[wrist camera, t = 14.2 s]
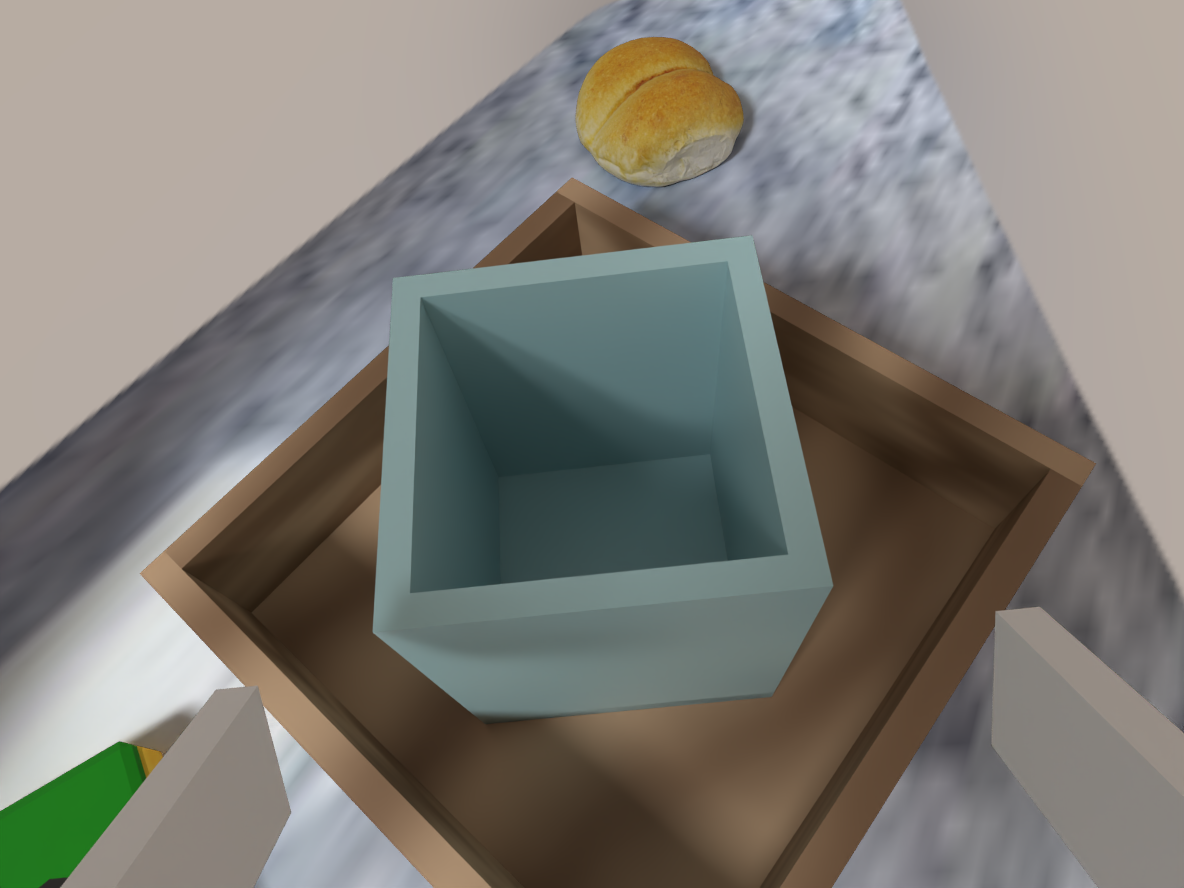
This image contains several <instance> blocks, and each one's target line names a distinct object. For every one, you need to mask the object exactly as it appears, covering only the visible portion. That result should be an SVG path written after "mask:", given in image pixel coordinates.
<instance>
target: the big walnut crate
mask: <svg viewBox="0 0 1184 888" xmlns="http://www.w3.org/2000/svg"><path fill="white" fill-rule="evenodd" d="M684 243H691V242H689V241H688V240H686V239H684V238H682V237H680V236H678V235H677V234H675V233H673V232H671V231H669V230H667V229H666V228H664V227H662V226H660V225H658V224H656V223H655V222H653V221H651V220H649V219H647V218H645V217H644V216H642V215H640V214H638V213H636V212H634V211H633V210H631V209H629V208H627V207H625V206H623V205H622V204H620V203H618V202H616V201H614V200H612V199H611V198H609V197H607V196H605V195H603V194H601V193H600V192H598V191H596V190H594V189H592V188H590V187H589V186H587V185H585V184H583V183H581V182H579V181H578V180H576V179H574V178H571V179H570V180H569V181H568V182H567V183H565V184H564V185H563V186H562V187H561V188H560V189H559V190H558V191H557V192H556V193H555V194H553V195H552V196H551V197H550V198H549V199H548V200H547V201H546V202H545V203H544V204H543V205H541V206H540V207H539V208H538V209H537V210H536V211H535V212H534V213H533V214H532V215H531V216H529V217H528V218H527V219H526V220H525V221H524V222H523V223H522V224H521V225H520V226H519V227H517V228H516V229H515V230H514V231H513V232H512V233H511V234H510V235H509V236H508V237H507V238H505V239H504V240H503V241H502V242H501V243H500V244H499V245H498V246H497V247H496V248H495V249H493V250H492V251H491V252H490V253H489V254H488V255H487V256H486V257H485V258H484V259H483V260H481V261H480V262H479V263H478V264H477V265H476V266H475V267H474V268H482V267H491V266H499V265H507V264H516V263H524V262H533V261H541V260H549V259H558V258H566V257H575V256H583V255H592V254H600V253H608V252H617V251H625V250H634V249H642V248H650V247H659V246H667V245H676V244H684ZM474 268H473V269H474ZM763 283H764V282H763ZM764 288H765V292H766V296H767V301H768V305H769V309H770V314H771V318H772V322H773V327H774V331H775V335H776V340H777V344H778V348H779V353H780V357H781V361H782V366H783V370H784V374H785V379H786V383H787V387H788V392H789V396H790V400H791V405H792V409H793V413H794V418H795V422H796V426H797V431H798V435H799V439H800V444H801V448H802V452H803V457H804V461H805V465H806V470H807V474H808V478H809V483H810V487H811V491H812V496H813V500H814V504H815V508H816V513H817V517H818V521H819V526H820V530H821V534H822V539H823V543H824V547H825V552H826V556H827V560H828V565H829V569H830V573H831V578H832V582H833V588H832V589H831V591H830V593H829V595H828V597H827V598H826V600H825V602H824V604H823V606H822V607H821V609H820V611H819V613H818V615H817V616H816V618H815V620H814V622H813V624H812V625H811V627H810V629H809V631H808V632H807V634H806V636H805V638H804V640H803V641H802V643H801V645H800V647H799V649H798V650H797V652H796V654H795V656H794V658H793V659H792V661H791V663H790V665H789V667H788V668H787V670H786V672H785V674H784V676H783V677H782V679H781V681H780V683H779V685H778V686H777V688H776V690H775V692H774V693H773V695H772V697H765V698H755V699H745V700H734V701H724V702H713V703H703V704H692V705H682V706H671V707H661V708H650V709H640V710H629V711H619V712H608V713H598V714H587V715H577V716H567V717H556V718H546V719H535V720H525V721H514V722H504V723H493V724H484V723H483V722H482V721H481V720H479V719H478V718H477V717H476V716H474V715H473V714H472V713H471V712H470V711H468V710H467V709H466V708H465V707H463V706H462V705H461V704H460V703H459V702H457V701H456V700H455V699H454V698H452V697H451V696H450V695H449V694H448V693H446V692H445V691H444V690H443V689H441V688H440V687H439V686H438V685H436V684H435V683H434V682H433V681H432V680H430V679H429V678H428V677H427V676H425V675H424V674H423V673H422V672H421V671H419V670H418V669H417V668H416V667H414V666H413V665H412V664H411V663H410V662H408V661H407V660H406V659H405V658H403V657H402V656H401V655H400V654H398V653H397V652H396V651H395V650H394V649H392V648H391V647H390V646H389V645H387V644H386V643H385V642H384V641H383V640H381V639H380V638H379V637H378V636H376V635H375V634H374V633H373V617H374V600H375V582H376V565H377V548H378V530H379V513H380V495H381V478H382V460H383V443H384V425H385V408H386V390H387V373H388V355H389V346H388V347H386V348H385V349H384V350H383V351H382V352H381V353H380V354H379V355H378V356H377V357H376V358H374V359H373V360H372V361H371V362H370V363H369V364H368V365H367V366H366V367H365V368H364V369H362V370H361V371H360V372H359V373H358V374H357V375H356V376H355V377H354V378H353V379H352V380H350V381H349V382H348V383H347V384H346V385H345V386H344V387H343V388H342V389H341V390H340V391H338V392H337V393H336V394H335V395H334V396H333V397H332V398H331V399H330V400H329V401H327V402H326V403H325V404H324V405H323V406H322V407H321V408H320V409H319V410H318V411H317V412H315V413H314V414H313V415H312V416H311V417H310V418H309V419H308V420H307V421H306V422H305V423H303V424H302V425H301V426H300V427H299V428H298V429H297V430H296V431H295V432H294V433H293V434H291V435H290V436H289V437H288V438H287V439H286V440H285V441H284V442H283V443H282V444H281V445H279V446H278V447H277V448H276V449H275V450H274V451H273V452H272V453H271V454H270V455H269V456H267V457H266V458H265V459H264V460H263V461H262V462H261V463H260V464H259V465H258V466H257V467H255V468H254V469H253V470H252V471H251V472H250V473H249V474H248V475H247V476H246V477H245V478H243V479H242V480H241V481H240V482H239V483H238V484H237V485H236V486H235V487H234V488H233V489H231V490H230V491H229V492H228V493H227V494H226V495H225V496H224V497H223V498H222V499H221V500H219V501H218V502H217V503H216V504H215V505H214V506H213V507H212V508H211V509H210V510H209V511H207V512H206V513H205V514H204V515H203V516H202V517H201V518H200V519H199V520H198V521H197V522H195V523H194V524H193V525H192V526H191V527H190V528H189V529H188V530H187V531H186V532H184V533H183V534H182V535H181V536H180V537H179V538H178V539H177V540H176V541H175V542H174V543H172V544H171V545H170V546H169V547H168V548H167V549H166V550H165V551H164V552H163V553H162V554H160V555H159V556H158V557H157V558H156V559H155V560H154V561H153V562H152V563H151V564H150V565H148V566H147V567H146V568H145V569H144V570H143V571H142V572H141V573H140V574H141V575H142V577H143V578H144V579H145V580H146V581H147V582H148V583H149V584H150V585H151V586H152V587H153V588H154V589H155V590H156V592H157V593H158V594H159V595H160V596H161V597H162V598H163V599H164V600H165V601H166V602H167V603H168V604H169V605H170V606H171V608H172V609H173V610H174V611H175V612H176V613H177V614H178V615H179V616H180V617H181V618H182V619H183V620H184V621H185V622H186V624H187V625H188V626H189V627H190V628H191V629H192V630H193V631H194V632H195V633H196V634H197V635H198V636H199V637H200V639H201V640H202V641H203V642H204V643H205V644H206V645H207V646H208V647H209V648H210V649H211V650H212V651H213V652H214V653H215V655H216V656H217V657H218V658H219V659H220V660H221V661H222V662H223V663H224V664H225V665H226V666H227V667H228V668H229V669H230V671H231V672H232V673H233V674H234V675H235V676H236V677H237V678H238V679H239V680H240V681H241V682H242V683H243V684H244V685H245V687H249V686H258V688H259V692H260V696H261V699H262V703H263V706H264V707H265V708H266V709H267V710H268V711H269V712H270V713H271V714H272V715H273V716H274V718H275V719H276V720H277V721H278V722H279V723H280V724H281V725H282V726H283V727H284V728H285V729H286V730H287V731H288V732H289V734H290V735H291V736H292V737H293V738H294V739H295V740H296V741H297V742H298V743H299V744H300V745H301V746H302V747H303V749H304V750H305V751H306V752H307V753H308V754H309V755H310V756H311V757H312V758H313V759H314V760H315V761H316V762H317V763H318V765H319V766H320V767H321V768H322V769H323V770H324V771H325V772H326V773H327V774H328V775H329V776H330V777H331V778H332V779H333V781H334V782H335V783H336V784H337V785H338V786H339V787H340V788H341V789H342V790H343V791H344V792H345V793H346V794H347V796H348V797H349V798H350V799H351V800H352V801H353V802H354V803H355V804H356V805H357V806H358V807H359V808H360V809H361V810H362V812H363V813H364V814H365V815H366V816H367V817H368V818H369V819H370V820H371V821H372V822H373V823H374V824H375V825H376V826H377V828H378V829H379V830H380V831H381V832H382V833H383V834H384V835H385V836H386V837H387V838H388V839H389V840H390V841H391V842H392V844H393V845H394V846H395V847H396V848H397V849H398V850H399V851H400V852H401V853H402V854H403V855H404V856H405V857H406V859H407V860H408V861H409V862H410V863H411V864H412V865H413V866H414V867H415V868H416V869H417V870H418V871H419V872H420V873H421V875H422V876H423V877H424V878H425V879H426V880H427V881H428V882H429V883H430V884H431V885H432V886H433V887H434V888H832V886H833V885H834V883H835V882H836V880H837V878H838V877H839V875H840V874H841V872H842V870H843V869H844V867H845V866H846V864H847V862H848V861H849V859H850V858H851V856H852V854H853V853H854V851H855V850H856V848H857V846H858V845H859V843H860V842H861V840H862V838H863V837H864V835H865V833H866V832H867V830H868V829H869V827H870V825H871V824H872V822H873V821H874V819H875V817H876V816H877V814H878V813H879V811H880V809H881V808H882V806H883V805H884V803H885V801H886V800H887V798H888V797H889V795H890V793H891V792H892V790H893V789H894V787H895V785H896V784H897V782H898V781H899V779H900V777H901V776H902V774H903V773H904V771H905V769H906V768H907V766H908V765H909V763H910V761H911V760H912V758H913V757H914V755H915V753H916V752H917V750H918V749H919V747H920V745H921V744H922V742H923V740H924V739H925V737H926V736H927V734H928V732H929V731H930V729H931V728H932V726H933V724H934V723H935V721H936V720H937V718H938V716H939V715H940V713H941V712H942V710H943V708H944V707H945V705H946V704H947V702H948V700H949V699H950V697H951V696H952V694H953V692H954V691H955V689H956V688H957V686H958V684H959V683H960V681H961V680H962V678H963V676H964V675H965V673H966V672H967V670H968V668H969V667H970V665H971V664H972V662H973V660H974V659H975V657H976V656H977V654H978V652H979V651H980V649H981V647H982V646H983V644H984V643H985V641H986V639H987V638H988V636H989V635H990V633H991V631H992V630H993V628H994V627H995V611H1002V610H1005V609H1006V607H1007V606H1008V604H1009V603H1010V601H1011V599H1012V598H1013V596H1014V595H1015V593H1016V591H1017V590H1018V588H1019V587H1020V585H1021V583H1022V582H1023V580H1024V579H1025V577H1026V575H1027V574H1028V572H1029V571H1030V569H1031V567H1032V566H1033V564H1034V563H1035V561H1036V559H1037V558H1038V556H1039V554H1040V553H1041V551H1042V550H1043V548H1044V546H1045V545H1046V543H1047V542H1048V540H1049V538H1050V537H1051V535H1052V534H1053V532H1054V530H1055V529H1056V527H1057V526H1058V524H1059V522H1060V521H1061V519H1062V518H1063V516H1064V514H1065V513H1066V511H1067V510H1068V508H1069V506H1070V505H1071V503H1072V502H1073V500H1074V498H1075V497H1076V495H1077V494H1078V492H1079V490H1080V489H1081V487H1082V486H1083V484H1084V482H1085V481H1086V479H1087V478H1088V476H1089V474H1090V473H1091V471H1092V470H1093V468H1094V466H1095V465H1096V463H1094V462H1092V461H1091V460H1089V459H1087V458H1085V457H1083V456H1081V455H1080V454H1078V453H1076V452H1074V451H1072V450H1070V449H1069V448H1067V447H1065V446H1063V445H1061V444H1059V443H1058V442H1056V441H1054V440H1052V439H1050V438H1048V437H1047V436H1045V435H1043V434H1041V433H1039V432H1037V431H1036V430H1034V429H1032V428H1030V427H1028V426H1026V425H1025V424H1023V423H1021V422H1019V421H1017V420H1015V419H1014V418H1012V417H1010V416H1008V415H1006V414H1004V413H1003V412H1001V411H999V410H997V409H995V408H993V407H992V406H990V405H988V404H986V403H984V402H982V401H981V400H979V399H977V398H975V397H973V396H971V395H970V394H968V393H966V392H964V391H962V390H960V389H959V388H957V387H955V386H953V385H951V384H949V383H948V382H946V381H944V380H942V379H940V378H939V377H937V376H935V375H933V374H931V373H929V372H928V371H926V370H924V369H922V368H920V367H918V366H917V365H915V364H913V363H911V362H909V361H907V360H906V359H904V358H902V357H900V356H898V355H896V354H895V353H893V352H891V351H889V350H887V349H885V348H884V347H882V346H880V345H878V344H876V343H874V342H873V341H871V340H869V339H867V338H865V337H863V336H862V335H860V334H858V333H856V332H854V331H852V330H851V329H849V328H847V327H845V326H843V325H841V324H840V323H838V322H836V321H834V320H832V319H830V318H829V317H827V316H825V315H823V314H821V313H819V312H818V311H816V310H814V309H812V308H810V307H808V306H807V305H805V304H803V303H801V302H799V301H797V300H796V299H794V298H792V297H790V296H788V295H786V294H785V293H783V292H781V291H779V290H777V289H775V288H774V287H772V286H770V285H768V284H766V283H764Z"/></svg>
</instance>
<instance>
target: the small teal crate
mask: <svg viewBox="0 0 1184 888" xmlns="http://www.w3.org/2000/svg"><path fill="white" fill-rule="evenodd" d="M832 588H833V582H832V578H831V573H830V569H829V565H828V560H827V556H826V552H825V547H824V543H823V539H822V534H821V530H820V526H819V521H818V517H817V513H816V508H815V504H814V500H813V496H812V491H811V487H810V483H809V478H808V474H807V470H806V465H805V461H804V457H803V452H802V448H801V444H800V439H799V435H798V431H797V426H796V422H795V418H794V413H793V409H792V405H791V400H790V396H789V392H788V387H787V383H786V379H785V374H784V370H783V366H782V361H781V357H780V353H779V348H778V344H777V340H776V335H775V331H774V327H773V322H772V318H771V314H770V309H769V305H768V301H767V296H766V292H765V288H764V283H763V279H762V275H761V270H760V266H759V262H758V257H757V253H756V249H755V245H754V240H753V236H752V235H751V236H743V237H734V238H726V239H718V240H709V241H701V242H692V243H684V244H676V245H667V246H659V247H650V248H642V249H634V250H625V251H617V252H608V253H600V254H592V255H583V256H575V257H566V258H558V259H549V260H541V261H533V262H524V263H516V264H507V265H499V266H491V267H482V268H474V269H465V270H457V271H449V272H440V273H432V274H423V275H415V276H407V277H398V278H393V286H392V303H391V321H390V338H389V355H388V373H387V390H386V408H385V425H384V443H383V460H382V478H381V495H380V513H379V530H378V548H377V565H376V582H375V600H374V617H373V633H374V634H375V635H376V636H378V637H379V638H380V639H381V640H383V641H384V642H385V643H386V644H387V645H389V646H390V647H391V648H392V649H394V650H395V651H396V652H397V653H398V654H400V655H401V656H402V657H403V658H405V659H406V660H407V661H408V662H410V663H411V664H412V665H413V666H414V667H416V668H417V669H418V670H419V671H421V672H422V673H423V674H424V675H425V676H427V677H428V678H429V679H430V680H432V681H433V682H434V683H435V684H436V685H438V686H439V687H440V688H441V689H443V690H444V691H445V692H446V693H448V694H449V695H450V696H451V697H452V698H454V699H455V700H456V701H457V702H459V703H460V704H461V705H462V706H463V707H465V708H466V709H467V710H468V711H470V712H471V713H472V714H473V715H474V716H476V717H477V718H478V719H479V720H481V721H482V722H483V723H484V724H493V723H504V722H514V721H525V720H535V719H546V718H556V717H567V716H577V715H587V714H598V713H608V712H619V711H629V710H640V709H650V708H661V707H671V706H682V705H692V704H703V703H713V702H724V701H734V700H745V699H755V698H765V697H772V695H773V693H774V692H775V690H776V688H777V686H778V685H779V683H780V681H781V679H782V677H783V676H784V674H785V672H786V670H787V668H788V667H789V665H790V663H791V661H792V659H793V658H794V656H795V654H796V652H797V650H798V649H799V647H800V645H801V643H802V641H803V640H804V638H805V636H806V634H807V632H808V631H809V629H810V627H811V625H812V624H813V622H814V620H815V618H816V616H817V615H818V613H819V611H820V609H821V607H822V606H823V604H824V602H825V600H826V598H827V597H828V595H829V593H830V591H831V589H832Z"/></svg>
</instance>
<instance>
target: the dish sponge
mask: <svg viewBox="0 0 1184 888" xmlns="http://www.w3.org/2000/svg"><path fill="white" fill-rule="evenodd" d="M162 758H163V756H162V753H161V752H160V751H156V750H152V749H148V748H144V747H140V746H136V745H132V744H128V743H124V742H120V741H119V742H117V743H116V744H114V745H112V746H111V747H109V748H107V749H105V750H104V751H102V752H100V753H99V754H97V755H95V756H94V757H92V758H90V759H88V760H87V761H85V762H83V763H82V764H80V765H78V766H77V767H75V768H73V769H71V770H70V771H68V772H66V773H65V774H63V775H61V776H60V777H58V778H56V779H54V780H53V781H51V782H49V783H48V784H46V785H44V786H42V787H41V788H39V789H37V790H36V791H34V792H32V793H31V794H29V795H27V796H25V797H24V798H22V799H20V800H19V801H17V802H15V803H14V804H12V805H10V806H8V807H7V808H5V809H3V810H2V811H0V888H39V887H40V886H42V885H43V884H44V883H45V882H47V881H48V880H49V879H55V878H66V877H69V876H70V875H71V873H72V872H73V871H74V870H75V868H76V867H77V866H78V864H79V863H80V862H81V861H82V859H83V858H84V857H85V856H86V854H87V853H88V852H89V851H90V849H91V848H92V847H93V845H94V844H95V843H96V842H97V840H98V839H99V838H100V837H101V835H102V834H103V833H104V831H105V830H106V829H107V828H108V826H109V825H110V824H111V823H112V821H113V820H114V819H115V818H116V816H117V815H118V814H119V812H120V811H121V810H122V809H123V807H124V806H125V805H126V804H127V802H128V801H129V800H130V798H131V797H132V796H133V795H134V793H135V792H136V791H137V790H138V788H139V787H140V786H141V785H142V783H143V782H144V781H145V779H146V778H147V777H148V776H149V774H150V773H151V772H152V771H153V769H154V768H155V767H156V765H157V764H158V763H159V762H160V760H161V759H162Z"/></svg>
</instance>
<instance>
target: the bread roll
mask: <svg viewBox="0 0 1184 888" xmlns="http://www.w3.org/2000/svg"><path fill="white" fill-rule="evenodd" d="M575 120H576V127H577V132H578V136H579V139H580V141H581V143H582V145H584V147H585V148H586V149H587V150H588V151H589V152H591V154H592V156H593V157H594V159H595V160H596V161H597V162H598V164H599V165H600V166H601V167H602V168H603V169H605V170H606V171H607V172H609V173H610V174H612V175H614V176H615V177H617V178H618V179H620V180H623V181H625V182H628V183H631V184H635V185H639V186H652V187H662V186H666V185H671V184H674V183H677V182H680V181H683V180H688V179H692V178H695V177H697V176H699V175H701V174H703V173H705V172H707V171H709V170H711V169H713V168H715V167H716V166H718V165H719V164H721V163H722V162H723V161H725V160H726V159H727V158H728V156H729V155H730V154H731V152H732V149H733V146H734V143H735V140H736V138H737V136H738V135H739V133H740V130H741V128H742V125H743V121H744V117H743V110H742V105H741V102H740V99H739V97H738V95H737V93H736V92H735V90H734V89H733V88H732V86H730V85H729V84H727V83H725V82H723V81H722V80H720V79H719V78H717V77H715V76H714V75H713V73H712V70H711V68H710V65H709V63H708V62H707V60H706V59H705V58H704V57H703V56H702V54H701V53H700V52H698V51H697V50H695V49H694V48H693V47H691V46H690V45H688V44H686V43H684V42H682V41H679V40H676V39H673V38H665V37H648V38H640V39H636V40H632V41H629V42H626V43H624V44H621V45H619V46H617V47H615V48H613V49H611V50H610V51H608V52H607V53H606V54H604V55H603V56H602V57H600V58H599V60H598V61H597V62H596V63H595V64H594V65H593V67H592V68H591V69H590V71H589V72H588V74H587V76H586V78H585V80H584V82H583V84H582V87H581V89H580V91H579V96H578V100H577V107H576V118H575Z"/></svg>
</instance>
